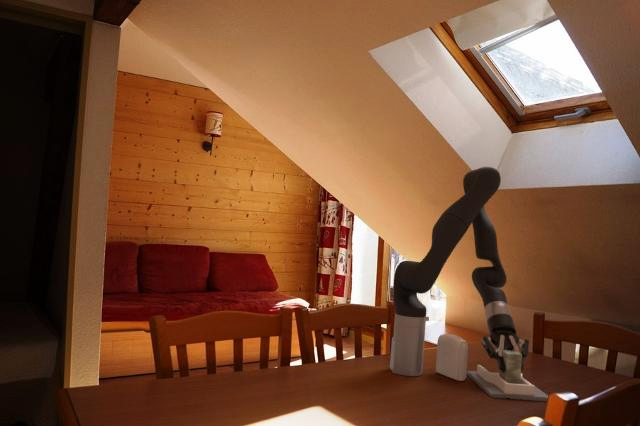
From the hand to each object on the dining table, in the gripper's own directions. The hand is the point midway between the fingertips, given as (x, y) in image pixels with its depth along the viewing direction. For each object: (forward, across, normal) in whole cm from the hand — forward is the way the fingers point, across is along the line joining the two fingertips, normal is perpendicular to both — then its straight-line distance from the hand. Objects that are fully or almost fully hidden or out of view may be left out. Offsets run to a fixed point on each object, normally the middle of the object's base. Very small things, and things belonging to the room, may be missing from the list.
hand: (512, 371), depth 147 cm
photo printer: (-4, -14, +12) cm, 19 cm away
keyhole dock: (+1, 0, +7) cm, 7 cm away
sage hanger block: (+2, 0, +4) cm, 4 cm away
